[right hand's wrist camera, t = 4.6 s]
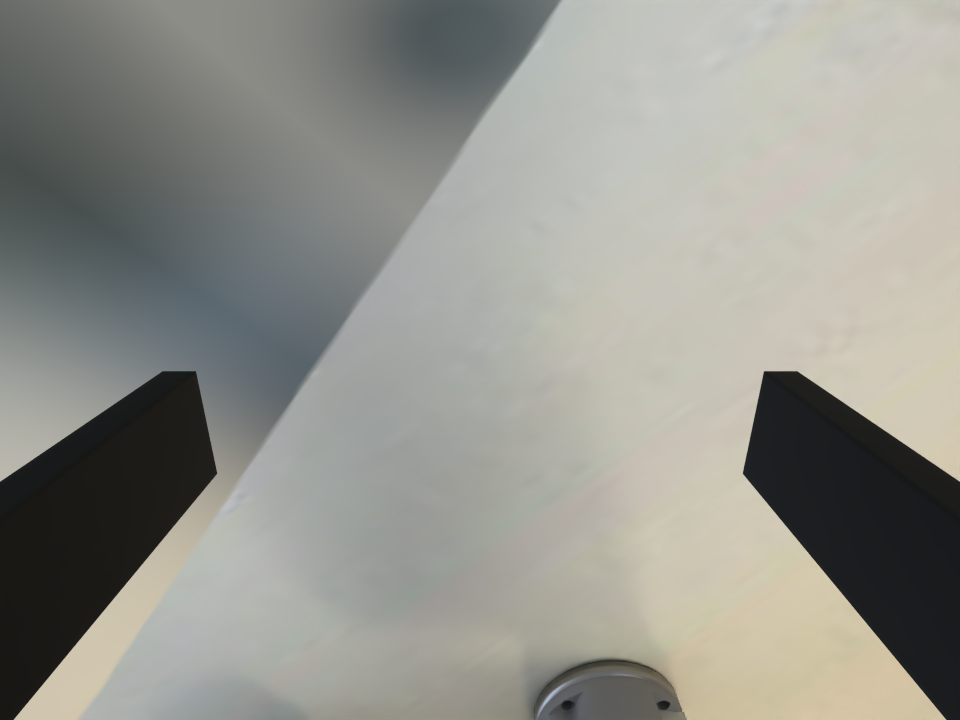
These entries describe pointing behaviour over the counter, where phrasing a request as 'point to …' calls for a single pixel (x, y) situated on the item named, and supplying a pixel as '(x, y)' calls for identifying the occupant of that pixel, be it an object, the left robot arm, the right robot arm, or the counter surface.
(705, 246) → the counter surface
